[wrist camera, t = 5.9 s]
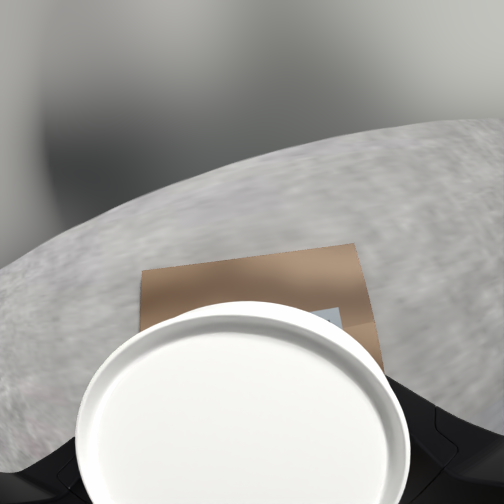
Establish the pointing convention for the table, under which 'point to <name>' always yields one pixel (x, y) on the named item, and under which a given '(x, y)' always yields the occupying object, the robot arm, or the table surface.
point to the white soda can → (242, 414)
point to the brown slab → (268, 288)
